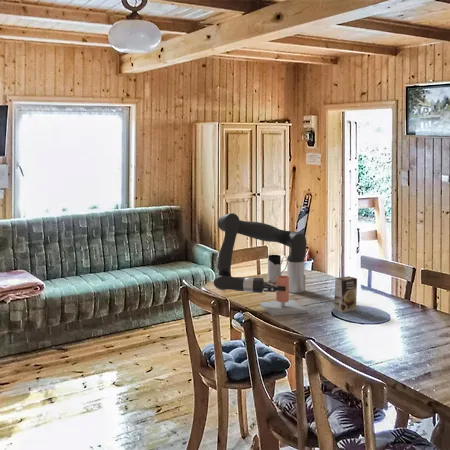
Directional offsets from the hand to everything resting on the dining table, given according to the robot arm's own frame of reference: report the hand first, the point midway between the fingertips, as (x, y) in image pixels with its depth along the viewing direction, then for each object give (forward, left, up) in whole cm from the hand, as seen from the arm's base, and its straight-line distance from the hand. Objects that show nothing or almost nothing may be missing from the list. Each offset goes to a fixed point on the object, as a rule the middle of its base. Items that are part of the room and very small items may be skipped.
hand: (286, 287), depth 270 cm
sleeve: (+2, -1, -7) cm, 7 cm away
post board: (+2, -1, -11) cm, 11 cm away
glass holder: (-18, -59, -11) cm, 63 cm away
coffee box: (-28, +9, -11) cm, 31 cm away
